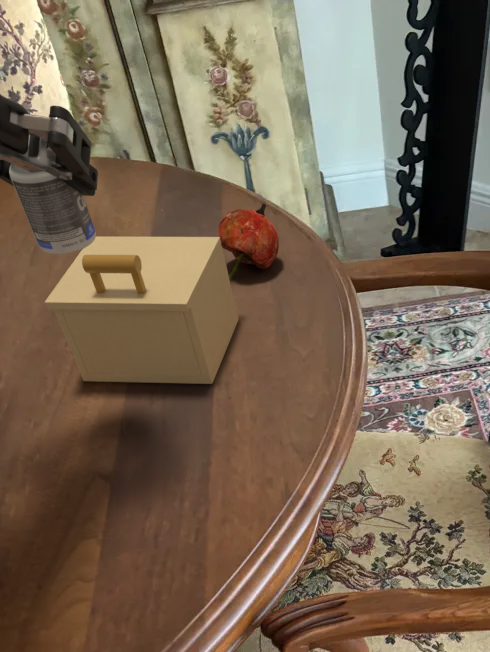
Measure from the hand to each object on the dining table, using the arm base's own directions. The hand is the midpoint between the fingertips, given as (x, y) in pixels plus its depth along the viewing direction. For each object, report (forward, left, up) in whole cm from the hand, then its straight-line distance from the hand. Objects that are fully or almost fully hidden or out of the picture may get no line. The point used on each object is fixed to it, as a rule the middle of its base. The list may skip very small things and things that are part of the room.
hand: (60, 181), depth 63 cm
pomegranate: (+6, +25, -22) cm, 34 cm away
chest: (0, +8, -22) cm, 23 cm away
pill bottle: (0, -2, -4) cm, 5 cm away
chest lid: (0, +8, -13) cm, 15 cm away
